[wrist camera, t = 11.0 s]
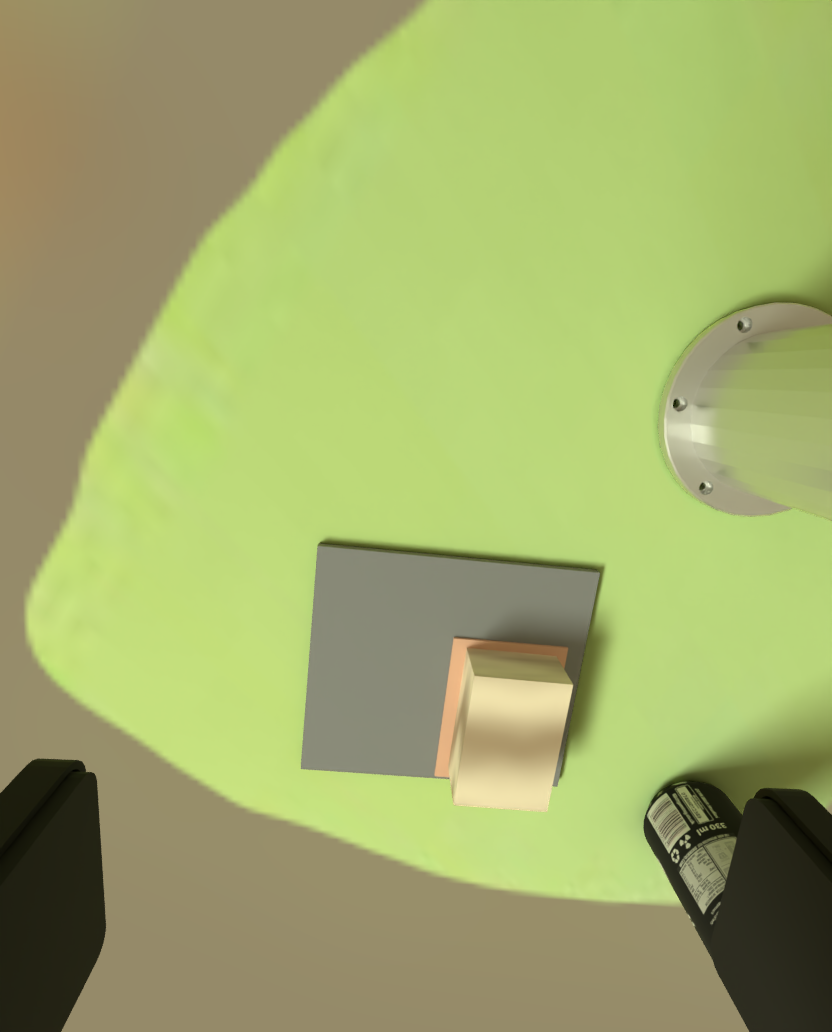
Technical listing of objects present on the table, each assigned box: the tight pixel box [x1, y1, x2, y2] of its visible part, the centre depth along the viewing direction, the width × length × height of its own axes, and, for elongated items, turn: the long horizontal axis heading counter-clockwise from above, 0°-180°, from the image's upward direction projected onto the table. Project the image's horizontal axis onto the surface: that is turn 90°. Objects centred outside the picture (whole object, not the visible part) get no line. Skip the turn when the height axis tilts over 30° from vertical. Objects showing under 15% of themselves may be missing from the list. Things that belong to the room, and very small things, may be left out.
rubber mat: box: [301, 543, 600, 787], centre depth 38 cm, size 18×16×1 cm
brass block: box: [448, 648, 573, 812], centre depth 36 cm, size 9×6×4 cm, turn 173°
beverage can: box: [644, 782, 742, 957], centre depth 36 cm, size 7×7×12 cm
